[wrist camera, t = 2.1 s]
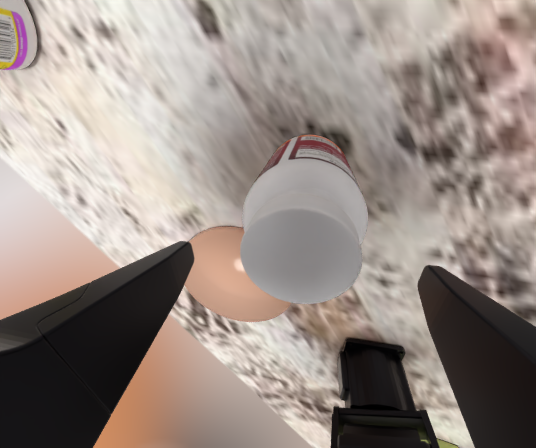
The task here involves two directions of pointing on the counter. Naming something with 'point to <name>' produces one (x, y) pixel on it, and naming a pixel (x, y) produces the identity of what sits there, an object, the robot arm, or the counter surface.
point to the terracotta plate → (228, 278)
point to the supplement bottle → (16, 35)
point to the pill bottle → (304, 223)
